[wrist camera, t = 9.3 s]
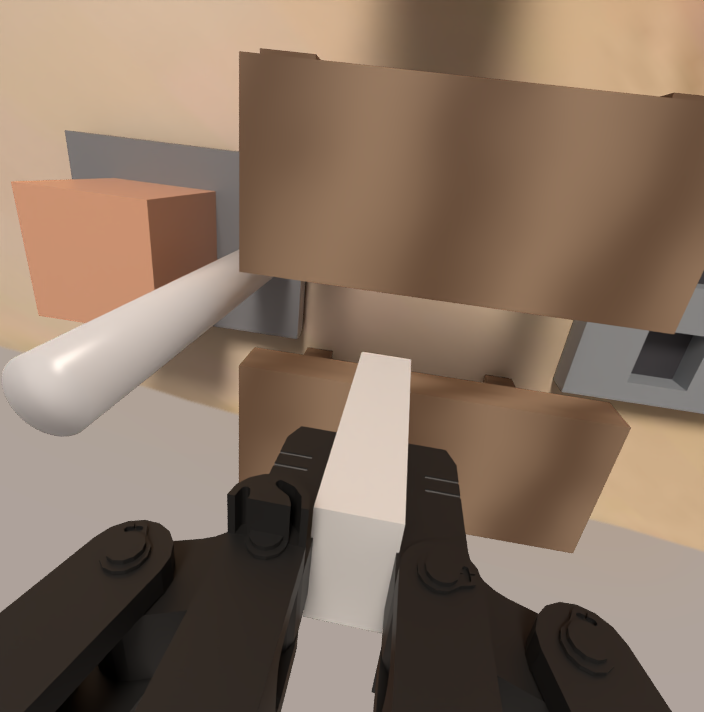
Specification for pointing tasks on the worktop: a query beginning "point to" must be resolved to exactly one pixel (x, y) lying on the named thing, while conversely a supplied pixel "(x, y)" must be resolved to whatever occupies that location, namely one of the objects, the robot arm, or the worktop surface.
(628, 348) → the pit plate
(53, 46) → the worktop surface
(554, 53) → the worktop surface
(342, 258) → the wooden rack
